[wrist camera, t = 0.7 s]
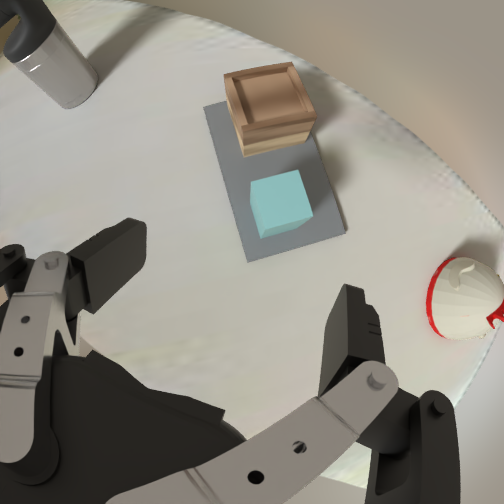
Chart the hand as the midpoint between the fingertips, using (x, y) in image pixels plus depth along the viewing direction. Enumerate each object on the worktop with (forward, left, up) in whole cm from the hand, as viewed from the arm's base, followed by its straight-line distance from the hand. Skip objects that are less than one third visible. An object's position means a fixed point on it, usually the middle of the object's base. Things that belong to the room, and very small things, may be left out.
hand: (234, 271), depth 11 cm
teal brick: (-5, +6, -27) cm, 28 cm away
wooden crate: (-19, +9, -28) cm, 35 cm away
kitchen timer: (+16, +33, -28) cm, 46 cm away
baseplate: (-12, +8, -28) cm, 31 cm away
